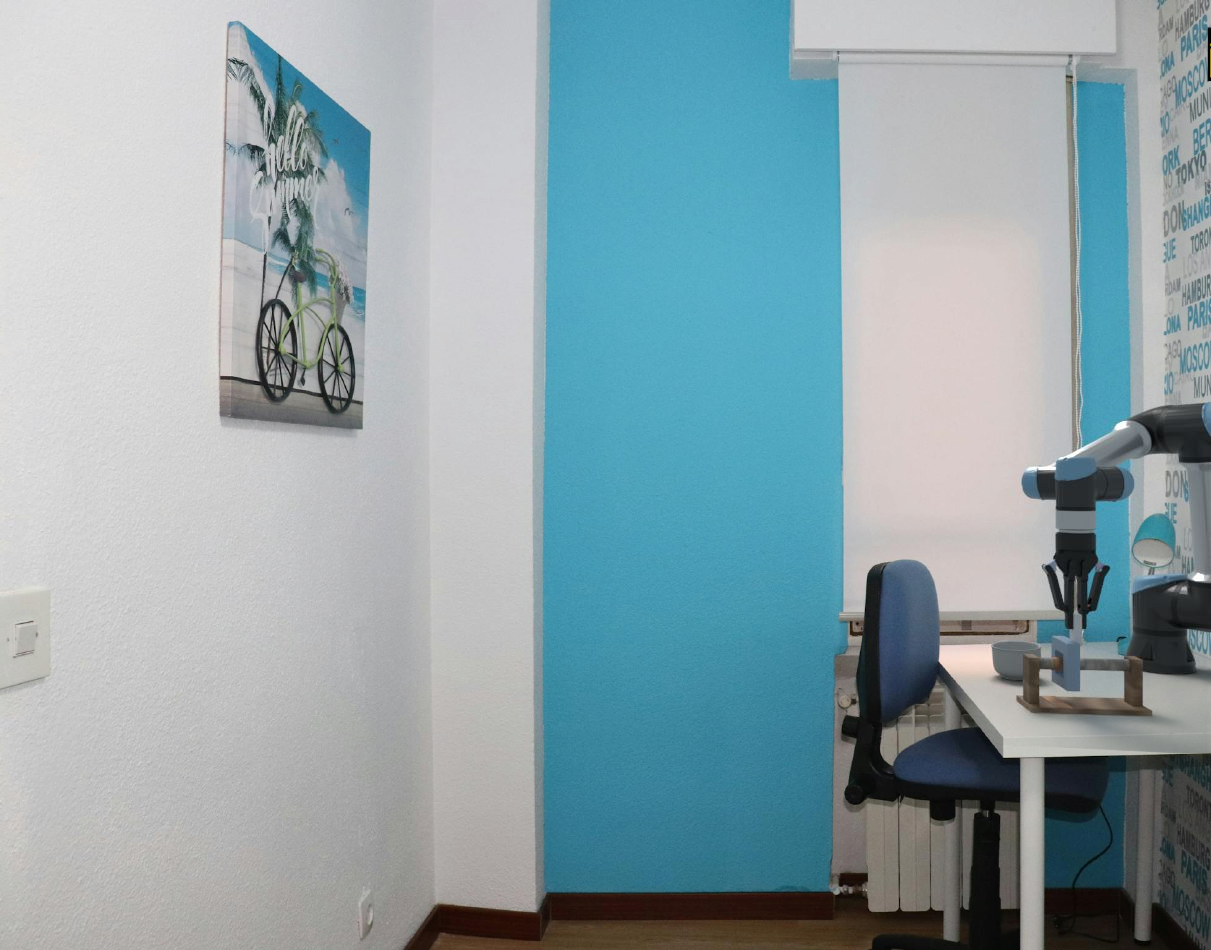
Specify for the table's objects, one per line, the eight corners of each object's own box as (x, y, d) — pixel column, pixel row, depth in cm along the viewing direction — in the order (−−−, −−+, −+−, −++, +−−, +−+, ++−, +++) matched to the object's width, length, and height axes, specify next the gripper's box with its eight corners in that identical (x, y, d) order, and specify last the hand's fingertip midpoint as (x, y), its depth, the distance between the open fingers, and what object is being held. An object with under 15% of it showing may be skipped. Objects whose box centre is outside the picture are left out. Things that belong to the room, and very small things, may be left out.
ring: (1064, 681, 197) (1063, 636, 197) (1080, 691, 188) (1080, 644, 188) (1051, 680, 198) (1051, 635, 198) (1067, 691, 188) (1067, 644, 188)
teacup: (1046, 684, 214) (1046, 649, 213) (996, 682, 216) (996, 647, 216) (1031, 671, 227) (1031, 638, 227) (984, 669, 229) (984, 636, 229)
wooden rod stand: (1130, 703, 196) (1130, 653, 196) (1152, 715, 186) (1152, 663, 186) (1016, 700, 199) (1016, 651, 199) (1031, 712, 189) (1031, 660, 189)
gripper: (1101, 530, 195) (1101, 642, 195) (1036, 529, 197) (1036, 641, 197) (1116, 532, 188) (1116, 649, 188) (1048, 532, 189) (1048, 647, 190)
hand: (1075, 644), depth 192 cm, fingers closed
